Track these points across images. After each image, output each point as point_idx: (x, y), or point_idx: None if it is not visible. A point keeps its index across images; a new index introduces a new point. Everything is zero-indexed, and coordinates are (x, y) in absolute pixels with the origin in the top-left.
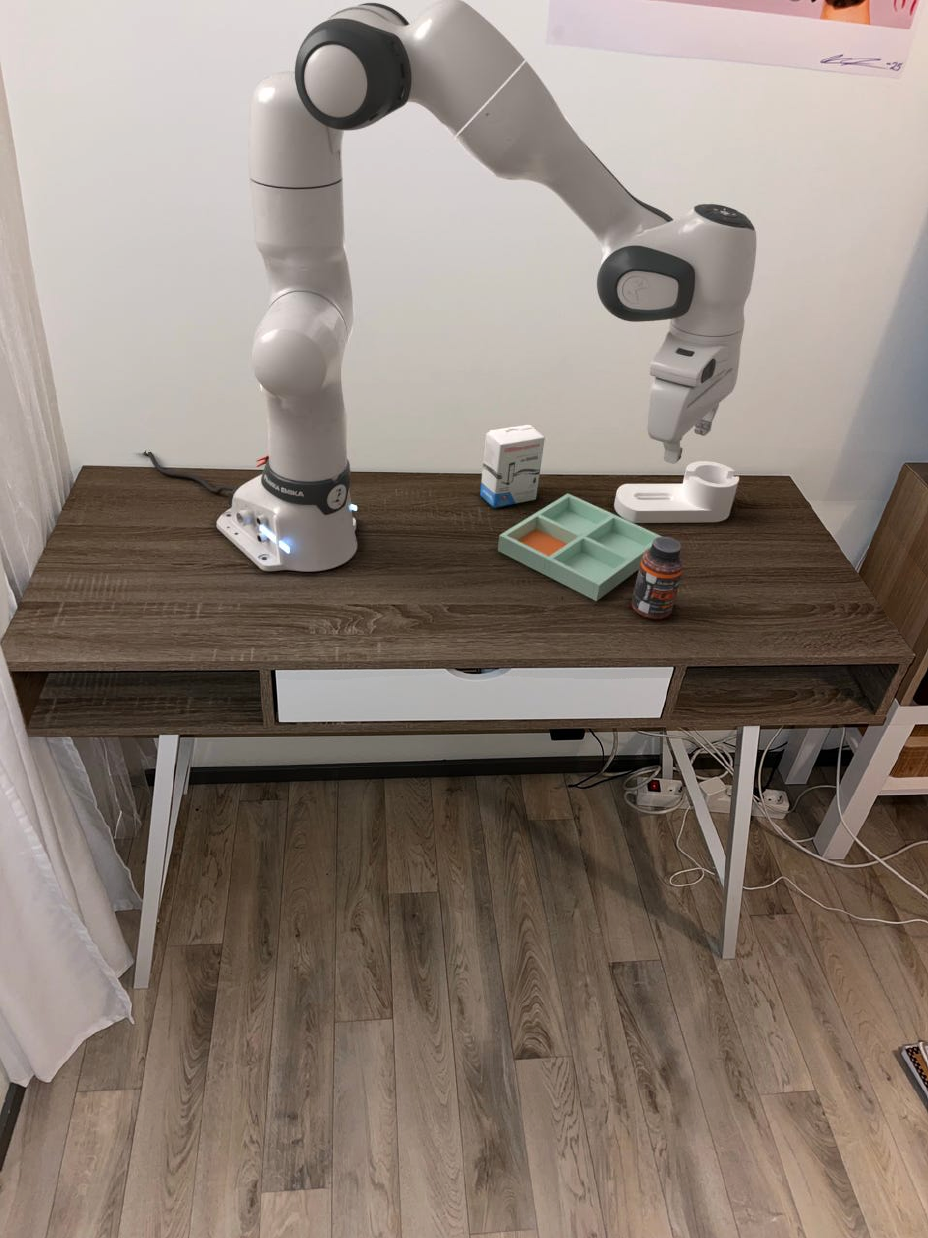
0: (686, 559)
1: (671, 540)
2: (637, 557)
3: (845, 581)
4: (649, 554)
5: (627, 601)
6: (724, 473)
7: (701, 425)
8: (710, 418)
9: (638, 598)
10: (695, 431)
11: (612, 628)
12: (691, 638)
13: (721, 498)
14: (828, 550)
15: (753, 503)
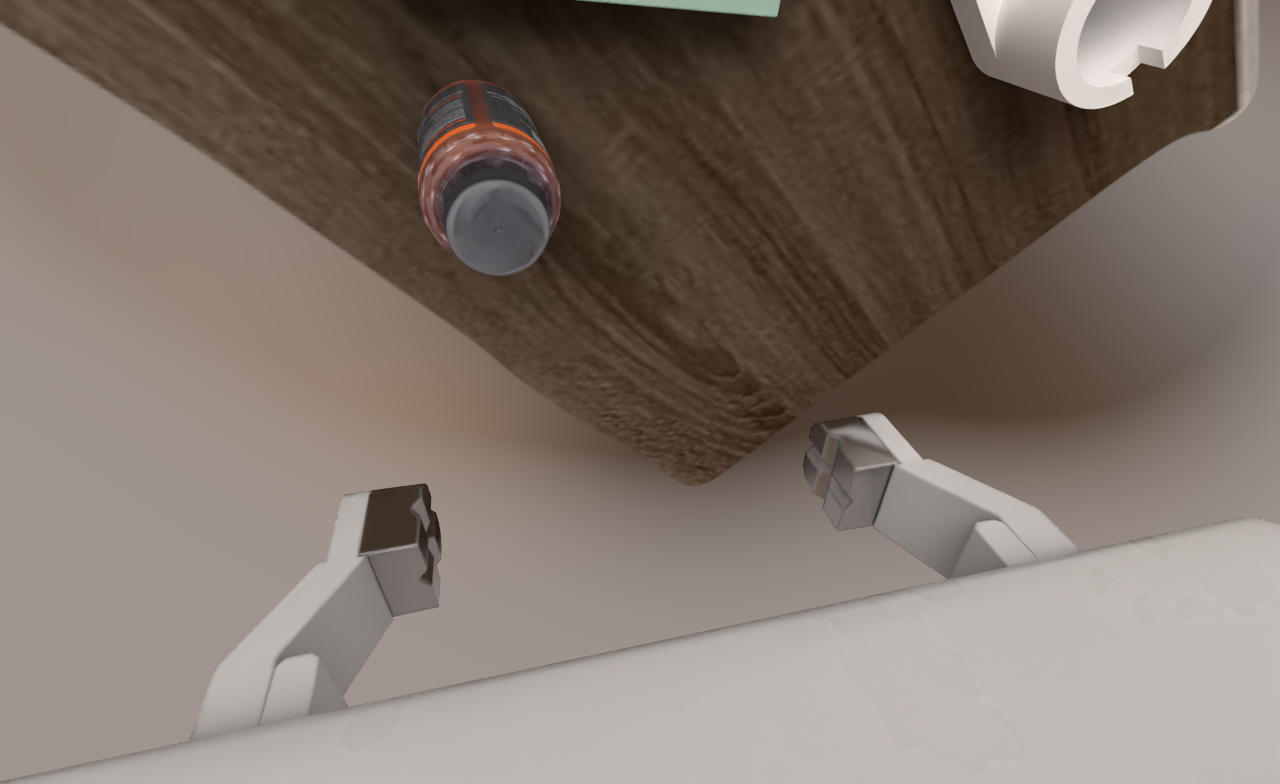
0: (760, 91)
1: (533, 229)
2: (617, 3)
3: (845, 370)
4: (454, 174)
5: (455, 61)
6: (1158, 35)
7: (839, 485)
8: (895, 532)
9: (420, 131)
10: (819, 428)
11: (302, 99)
12: (454, 272)
13: (1029, 80)
14: (938, 308)
15: None
